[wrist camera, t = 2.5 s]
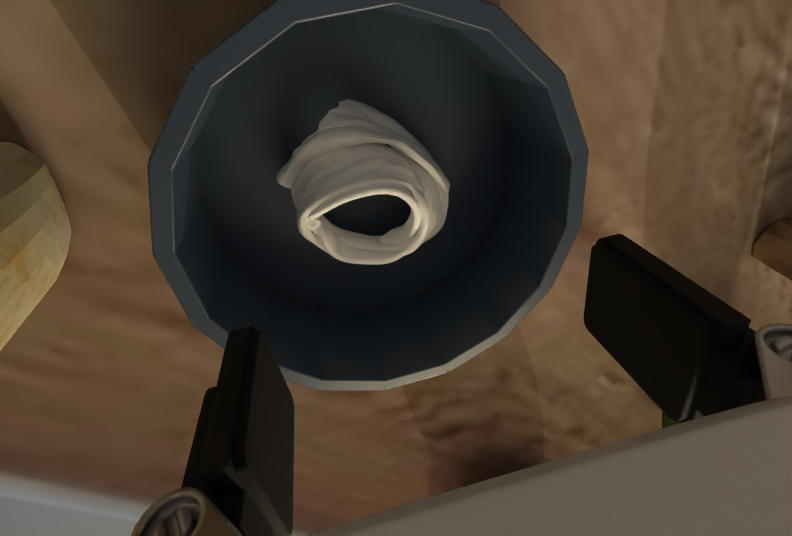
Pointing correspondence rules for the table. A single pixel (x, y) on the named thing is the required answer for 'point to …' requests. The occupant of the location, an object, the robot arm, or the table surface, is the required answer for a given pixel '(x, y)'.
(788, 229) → the milkshake
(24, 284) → the food model
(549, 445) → the table surface
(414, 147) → the whipped cream
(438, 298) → the pot
